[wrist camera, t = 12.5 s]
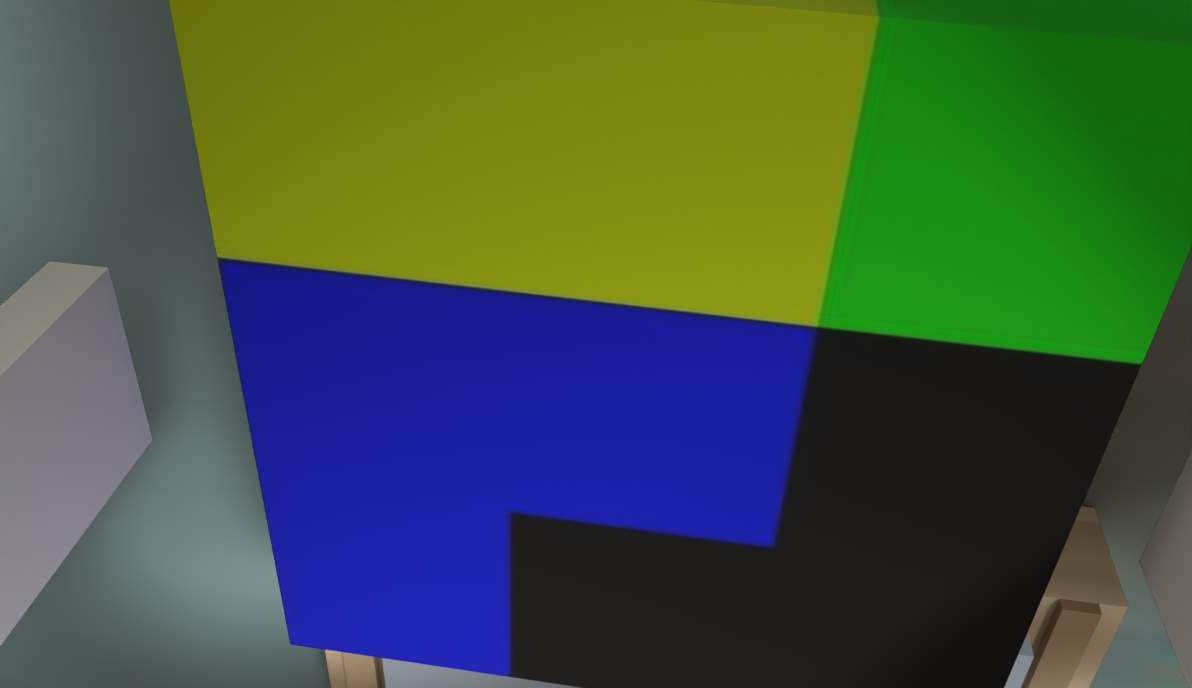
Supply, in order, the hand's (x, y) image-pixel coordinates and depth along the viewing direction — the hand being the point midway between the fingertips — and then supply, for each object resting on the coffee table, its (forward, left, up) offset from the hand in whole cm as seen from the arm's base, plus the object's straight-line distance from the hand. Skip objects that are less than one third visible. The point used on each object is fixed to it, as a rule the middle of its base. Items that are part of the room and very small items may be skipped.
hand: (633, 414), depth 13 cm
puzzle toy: (0, 0, -10) cm, 10 cm away
